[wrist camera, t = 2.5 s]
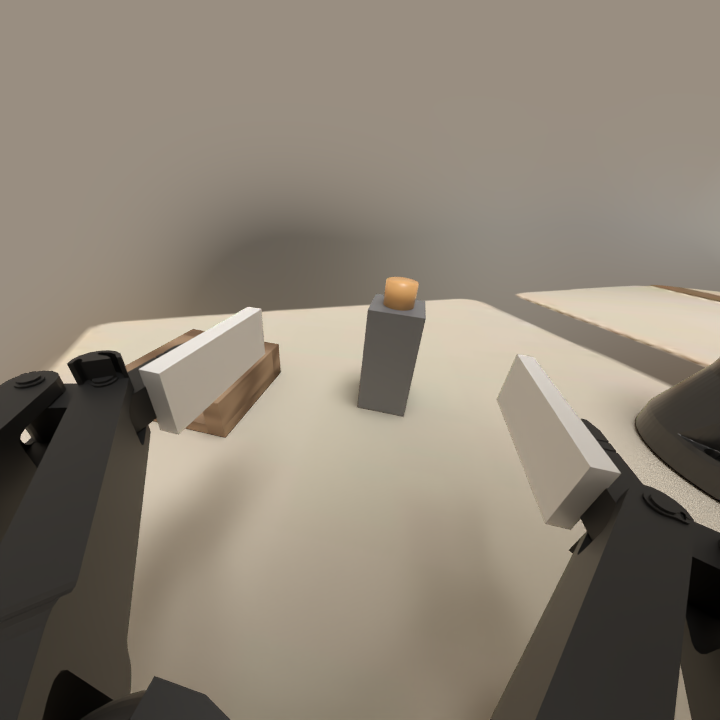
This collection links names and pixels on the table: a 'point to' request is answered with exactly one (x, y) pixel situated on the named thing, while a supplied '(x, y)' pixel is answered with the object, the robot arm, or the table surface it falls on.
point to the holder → (237, 396)
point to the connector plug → (391, 347)
